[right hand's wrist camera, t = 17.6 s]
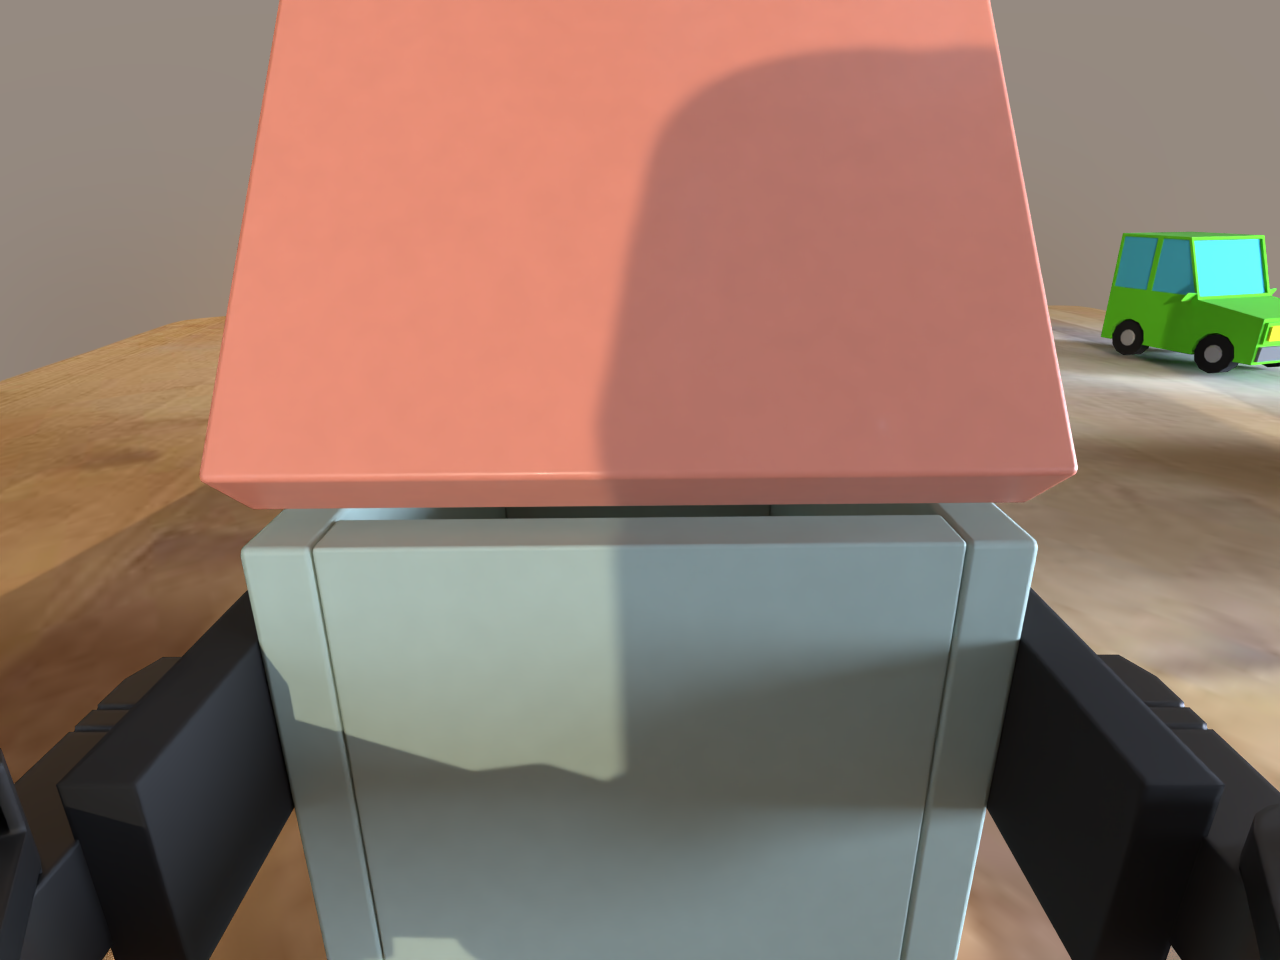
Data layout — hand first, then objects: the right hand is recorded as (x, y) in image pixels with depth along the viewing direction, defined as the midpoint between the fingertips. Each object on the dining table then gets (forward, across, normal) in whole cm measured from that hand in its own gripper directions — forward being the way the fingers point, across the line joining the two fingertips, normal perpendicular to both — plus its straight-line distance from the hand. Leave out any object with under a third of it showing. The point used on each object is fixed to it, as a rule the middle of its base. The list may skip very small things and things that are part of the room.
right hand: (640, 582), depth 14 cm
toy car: (+51, +47, -7) cm, 70 cm away
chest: (+3, 0, -7) cm, 7 cm away
